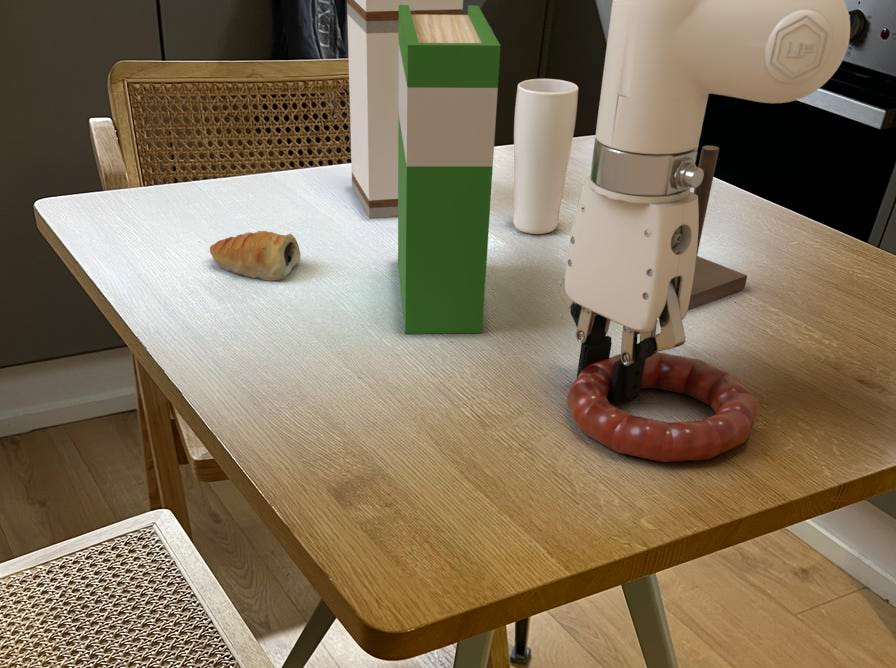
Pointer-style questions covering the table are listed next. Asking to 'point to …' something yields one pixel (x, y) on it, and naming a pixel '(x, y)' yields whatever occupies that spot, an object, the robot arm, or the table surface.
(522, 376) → the table surface
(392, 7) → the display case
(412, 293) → the hardback book
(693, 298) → the peg stand
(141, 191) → the table surface
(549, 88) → the drinking glass
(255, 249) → the pastry
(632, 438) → the ring
